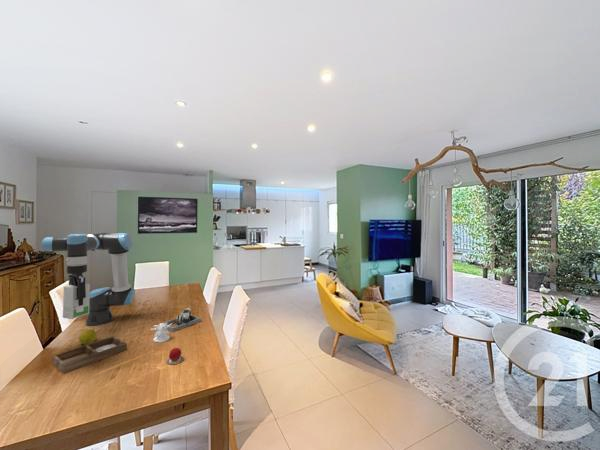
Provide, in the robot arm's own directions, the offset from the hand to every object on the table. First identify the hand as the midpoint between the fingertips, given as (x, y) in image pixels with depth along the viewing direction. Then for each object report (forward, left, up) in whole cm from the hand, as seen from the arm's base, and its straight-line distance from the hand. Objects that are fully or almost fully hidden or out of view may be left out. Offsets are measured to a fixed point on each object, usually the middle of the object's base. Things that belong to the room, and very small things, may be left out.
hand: (76, 310), depth 124 cm
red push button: (+39, +28, -27) cm, 55 cm away
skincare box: (0, 0, -3) cm, 3 cm away
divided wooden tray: (0, +6, -27) cm, 27 cm away
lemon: (-20, +11, -27) cm, 35 cm away
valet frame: (-1, +57, -27) cm, 63 cm away
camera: (-2, +60, -27) cm, 66 cm away
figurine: (+10, +37, -27) cm, 47 cm away
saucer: (0, +12, -26) cm, 29 cm away
